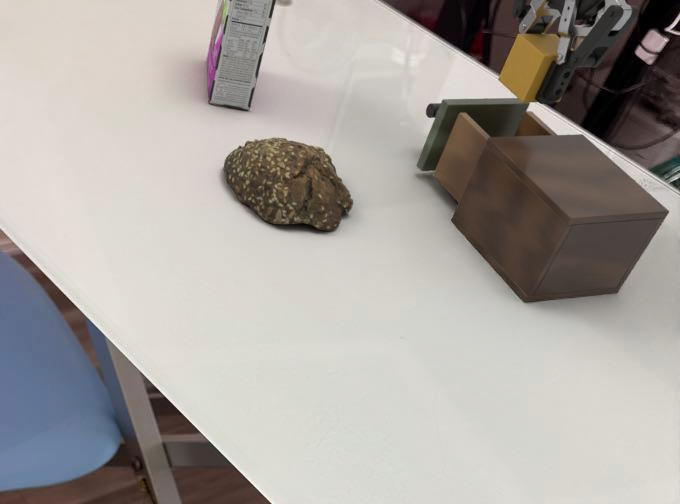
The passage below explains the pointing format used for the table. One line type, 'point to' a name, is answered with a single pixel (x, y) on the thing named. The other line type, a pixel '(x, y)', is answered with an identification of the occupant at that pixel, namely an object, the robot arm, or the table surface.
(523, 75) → the block
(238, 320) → the table surface
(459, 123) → the drawer
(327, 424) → the table surface
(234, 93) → the candy bar box
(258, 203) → the bread roll
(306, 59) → the table surface
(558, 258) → the cabinet
